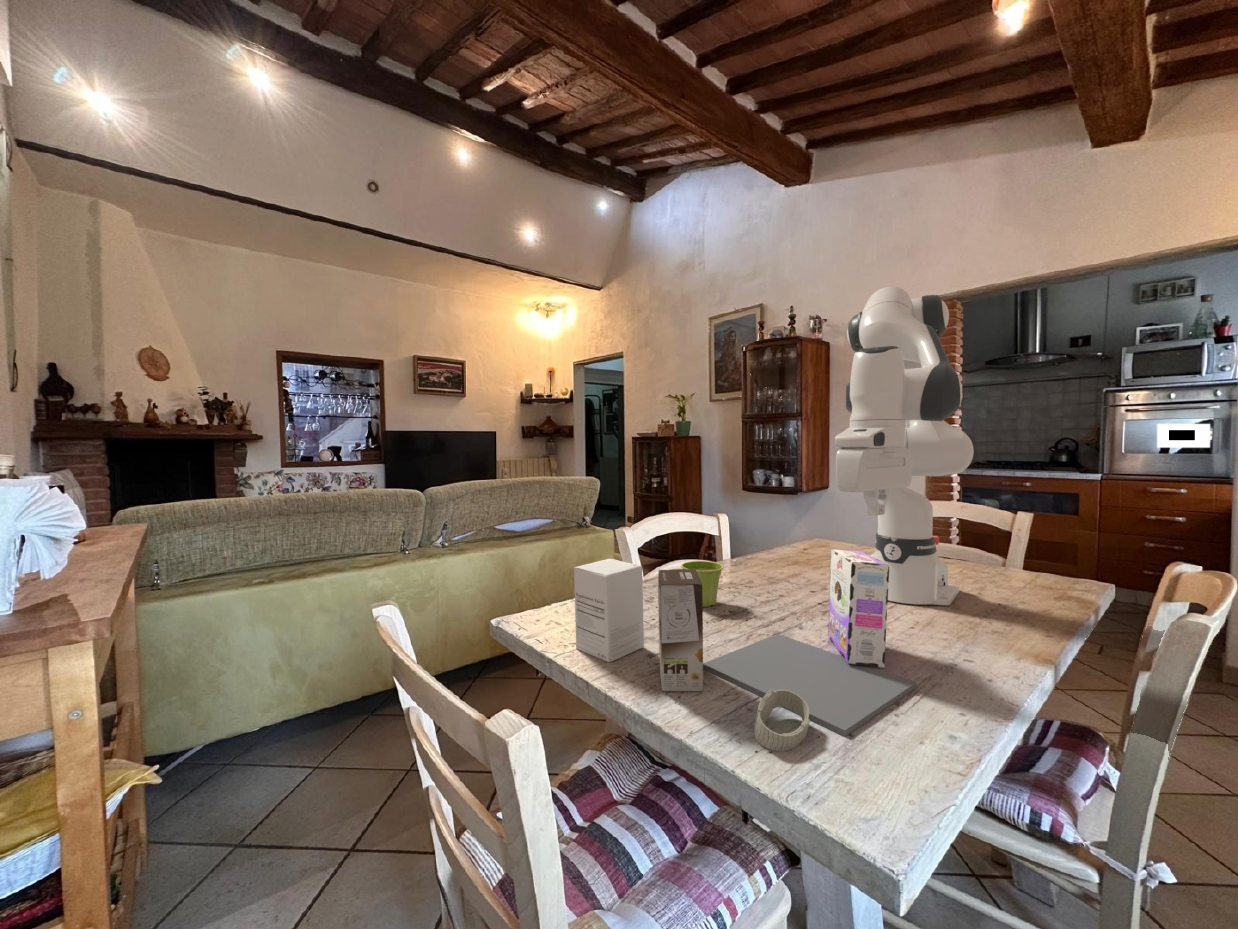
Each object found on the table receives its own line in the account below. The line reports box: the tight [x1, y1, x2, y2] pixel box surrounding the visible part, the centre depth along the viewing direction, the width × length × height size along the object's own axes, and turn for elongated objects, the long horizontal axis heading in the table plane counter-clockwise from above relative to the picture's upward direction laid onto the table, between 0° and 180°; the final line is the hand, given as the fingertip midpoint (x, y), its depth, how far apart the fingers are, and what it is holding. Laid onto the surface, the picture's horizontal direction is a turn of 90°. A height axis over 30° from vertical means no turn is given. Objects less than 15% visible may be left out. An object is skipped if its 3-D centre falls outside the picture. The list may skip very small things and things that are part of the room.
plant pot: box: [680, 560, 724, 608], centre depth 114 cm, size 9×9×9 cm
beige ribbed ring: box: [752, 689, 811, 752], centre depth 63 cm, size 9×6×5 cm
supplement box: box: [573, 558, 645, 663], centre depth 90 cm, size 9×9×15 cm
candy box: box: [827, 548, 889, 669], centre depth 86 cm, size 14×6×16 cm, turn 170°
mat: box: [703, 633, 918, 738], centre depth 78 cm, size 20×24×1 cm
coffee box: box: [657, 568, 704, 692], centre depth 78 cm, size 9×6×16 cm
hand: (876, 514), depth 90 cm, fingers closed
